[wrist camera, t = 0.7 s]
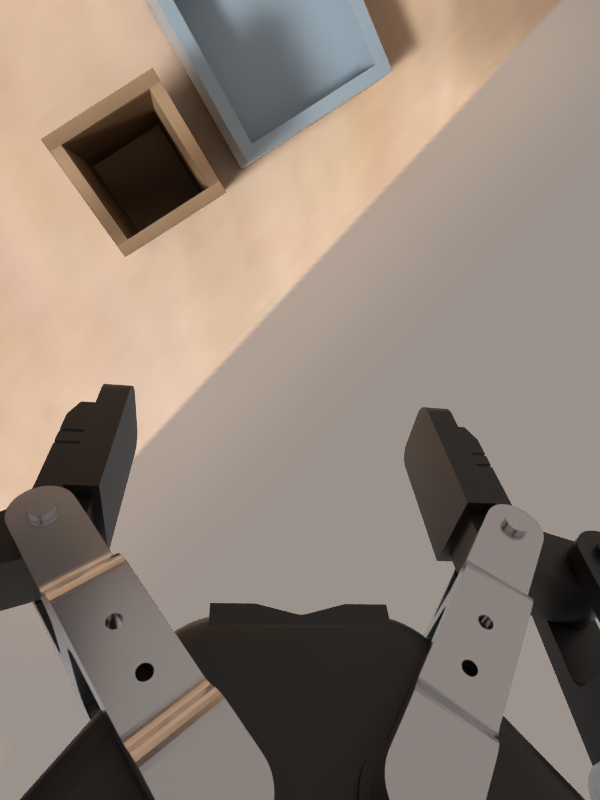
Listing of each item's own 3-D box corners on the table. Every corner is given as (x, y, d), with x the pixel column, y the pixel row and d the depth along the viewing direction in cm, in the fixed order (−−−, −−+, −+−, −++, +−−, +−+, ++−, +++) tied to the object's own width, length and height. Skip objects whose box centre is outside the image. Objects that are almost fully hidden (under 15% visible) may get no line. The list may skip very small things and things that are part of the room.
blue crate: (145, -2, 30) (140, -29, 26) (294, -97, 30) (308, -135, 26) (241, 169, 34) (247, 163, 31) (372, 85, 34) (392, 70, 31)
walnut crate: (81, 163, 32) (40, 139, 22) (160, 112, 32) (152, 67, 23) (140, 247, 34) (125, 256, 25) (214, 200, 34) (226, 191, 25)
